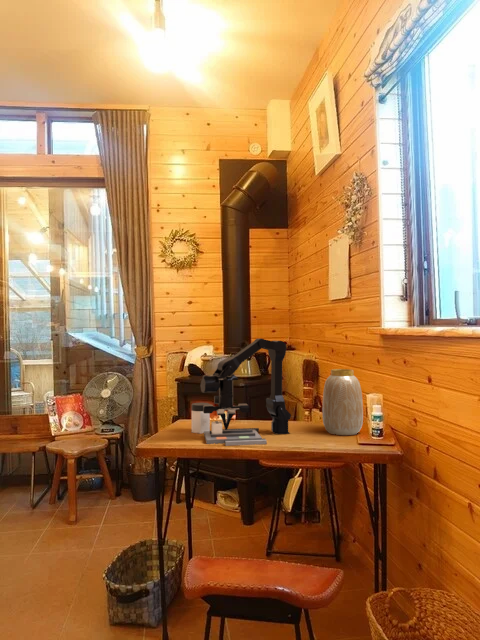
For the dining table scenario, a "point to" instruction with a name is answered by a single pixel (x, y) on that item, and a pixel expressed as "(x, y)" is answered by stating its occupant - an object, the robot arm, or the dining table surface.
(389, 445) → the dining table surface
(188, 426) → the dining table surface
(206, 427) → the jar
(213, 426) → the breaker lever
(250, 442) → the grey flat bar
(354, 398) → the vase
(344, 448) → the dining table surface
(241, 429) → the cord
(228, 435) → the breaker panel
